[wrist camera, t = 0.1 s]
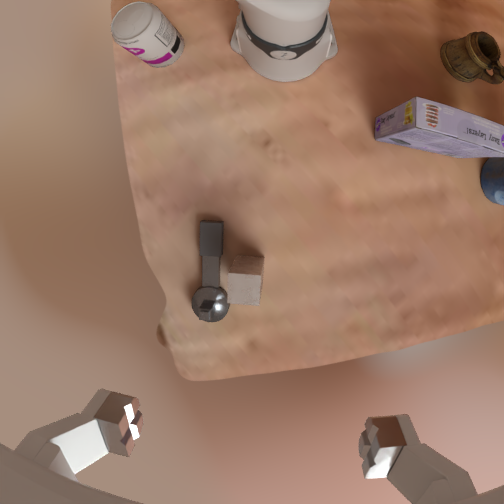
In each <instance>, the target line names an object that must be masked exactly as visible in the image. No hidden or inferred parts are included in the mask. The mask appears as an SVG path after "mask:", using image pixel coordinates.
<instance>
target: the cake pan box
mask: <svg viewBox="0 0 504 504" xmlns="http://www.w3.org/2000/svg"><path fill="white" fill-rule="evenodd" d="M375 140H377V141H381V142H386V143H392V144H396V145H401V146H406V147H410V148H415V149H420V150H424V151H428V152H433V153H438V154H443V155H447V156H451V157H456V158H478V157H504V126H503V125H501V124H498V123H496V122H493V121H491V120H488V119H485V118H483V117H480V116H477V115H474V114H471V113H469V112H466V111H463V110H460V109H457V108H454V107H451V106H448V105H445V104H442V103H438V102H435V101H431V100H428V99H424V98H420V97H414V98H412V99H410V100H408V101H406V102H405V103H403V104H401V105H399V106H397V107H395V108H393V109H391V110H389V111H387V112H385V113H384V114H382V115H380V116H378V117H376V123H375Z"/></svg>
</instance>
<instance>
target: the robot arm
mask: <svg viewBox="0 0 504 504" xmlns="http://www.w3.org/2000/svg"><path fill="white" fill-rule="evenodd" d="M236 1H237V2H238V3H239V9H240V10H241V11H240V14H239V15H238V16H237V23H236V26H235V29H234V33H233V36H232V39H231V43H230V45H231V48H232V49H233V50H234V51H235V52H237V53H238V54H240V55H242V56H243V57H244V58H245V59H246V61H247V62H248V63H249V65H250V66H251V67H252V68H253V69H254V70H255V71H256V72H257V73H259V74H260V75H262V76H264V77H266V78H268V79H271V80H275V81H281V82H290V81H296V80H300V79H303V78H305V77H307V76H309V75H311V74H312V73H313V72H314V71H316V70H317V69H318V67H319V66H320V65H321V64H322V63H323V62H324V61H325V60H327V59H330V58H332V57H333V56H335V55H336V54H337V52H338V47H337V43H336V39H335V34H334V30H333V26H332V22H331V19H330V15H329V11H328V8H329V4H330V1H331V0H236ZM331 44H332V45H331ZM139 407H140V403H139V399H138V398H136V397H132V396H128V395H124V394H121V393H117V392H112V391H108V390H105V389H100V390H98V391H97V393H96V394H95V395H94V397H93V398H92V399H91V401H90V402H89V403H88V405H87V406H86V407H85V409H84V410H83V411H82V413H81V414H79V413H76V414H74V415H71V416H69V417H67V418H64V419H61V420H59V421H56V422H54V423H51V424H49V425H46V426H43V427H41V428H38V429H35V430H33V431H30V432H29V433H28V434H27V435H26V437H25V438H24V439H23V440H22V442H21V443H20V444H19V445H18V446H17V448H16V449H15V450H14V451H13V450H11V449H10V448H8V447H6V446H5V445H3V444H1V443H0V504H143V503H139V502H135V501H132V500H129V499H125V498H122V497H119V496H116V495H112V494H110V493H107V492H104V491H101V490H98V489H96V488H93V487H90V486H88V485H85V484H82V483H80V482H79V481H78V479H77V478H76V476H75V473H77V472H79V471H80V470H82V469H84V468H85V467H87V466H89V465H90V464H92V463H93V462H95V461H96V460H98V459H100V458H101V457H103V456H104V455H106V454H107V453H108V452H112V453H115V454H119V455H122V456H126V457H129V456H130V454H131V452H132V450H133V448H134V446H135V443H134V439H136V438H138V437H139V436H140V434H141V432H142V427H143V416H142V413H141V412H140V411H139V410H138V409H139ZM365 428H366V430H365V431H363V432H362V433H361V436H360V439H359V453H360V457H362V458H363V459H364V461H363V464H362V469H363V473H364V478H365V479H368V478H381V477H387V479H388V480H389V481H390V482H391V483H392V484H393V485H394V486H395V487H396V488H397V489H398V490H399V491H400V492H401V493H402V494H403V495H404V496H405V497H406V498H407V499H408V500H409V501H410V502H411V503H412V504H504V485H503V486H500V487H498V488H495V489H493V490H490V491H487V492H484V493H482V494H479V495H478V494H477V492H476V490H475V487H474V485H473V483H472V480H471V479H470V476H469V474H468V472H467V471H465V470H464V469H462V468H461V467H459V466H457V465H456V464H455V463H453V462H451V461H450V460H448V459H447V458H445V457H444V456H442V455H441V454H439V453H438V452H436V451H435V450H433V449H432V448H430V447H429V446H427V445H426V444H421V443H420V440H419V438H418V436H417V433H416V431H415V429H414V426H413V424H412V422H411V420H410V417H409V415H407V414H402V415H394V416H393V415H391V416H378V417H368V419H367V420H366V423H365Z"/></svg>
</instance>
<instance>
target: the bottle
mask: <svg viewBox="0 0 504 504" xmlns="http://www.w3.org/2000/svg"><path fill="white" fill-rule="evenodd" d="M481 187H482V189H483V192H484V194H485V196H486V197H487V198H488V199H489V200H490V201H492V202H494V203H497V204H500V205H504V157H492V158H489V159H488V160H487V161H486V163H485V164H484V166H483V168H482V173H481Z"/></svg>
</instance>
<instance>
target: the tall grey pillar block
mask: <svg viewBox="0 0 504 504" xmlns="http://www.w3.org/2000/svg"><path fill="white" fill-rule="evenodd" d="M263 273H264V257H255V256H241V255H237V256H236V258H235V260H234V262H233V264H232V266H231V268H230V270H229V272H228V297H227V303H232V304H243V305H256V306H259V304H260V298H261V292H262V286H263Z"/></svg>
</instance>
